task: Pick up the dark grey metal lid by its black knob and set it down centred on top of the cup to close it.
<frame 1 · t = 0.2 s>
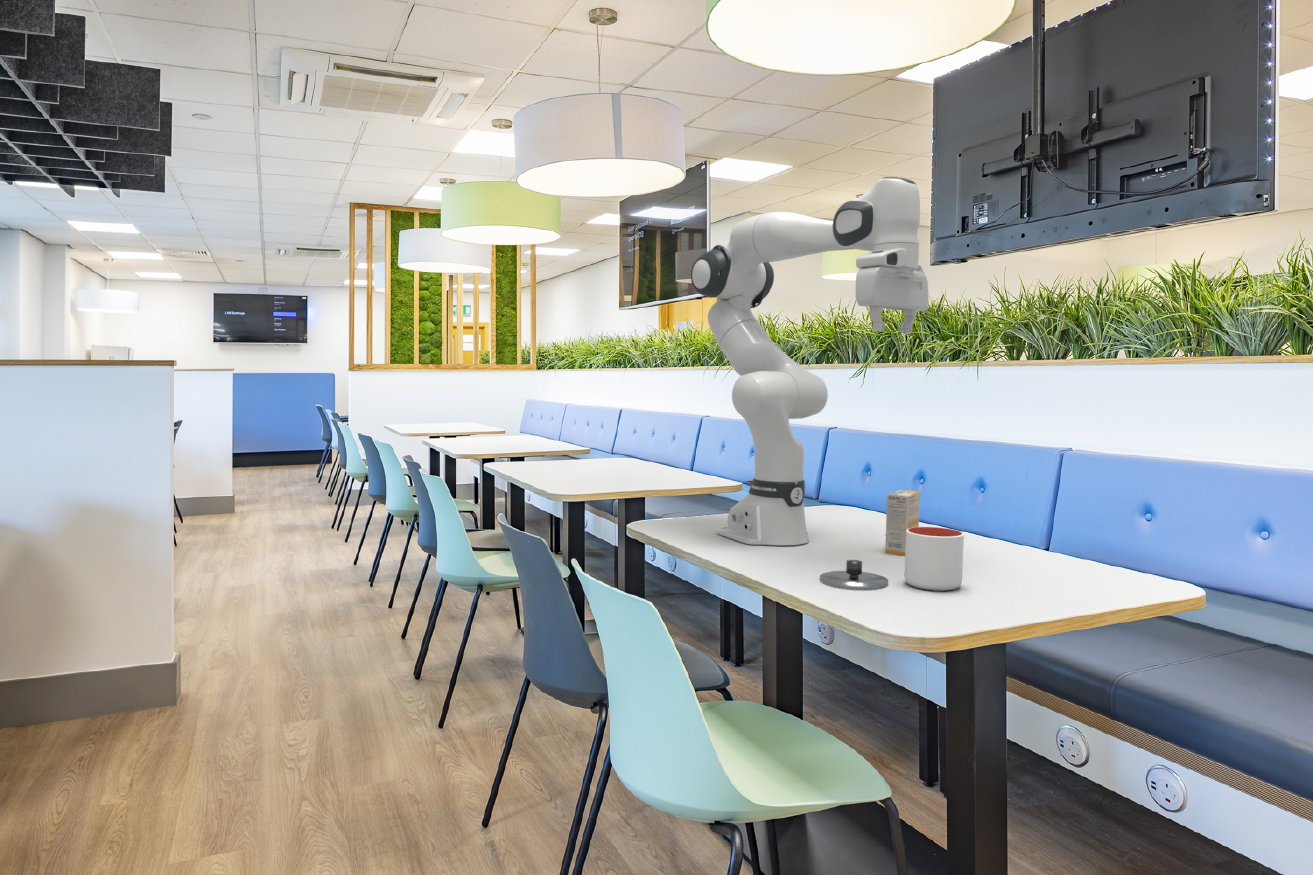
hand: (892, 332, 166), 47 cm above the table, fingers open, 8 cm apart
cup: (932, 586, 154), on the table
supplement box: (901, 552, 183), on the table
lid: (853, 583, 156), on the table
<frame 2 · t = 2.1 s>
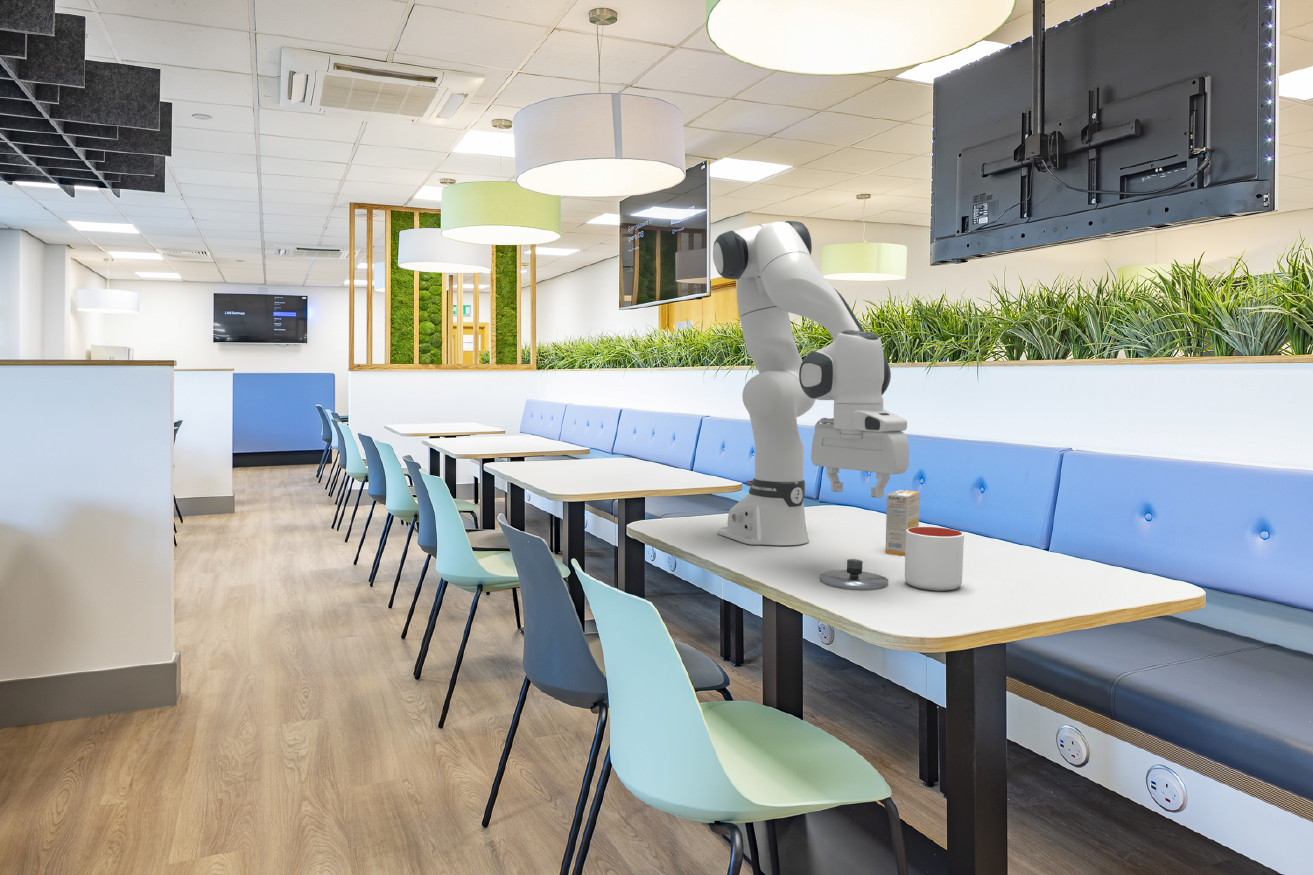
hand: (856, 494, 154), 16 cm above the table, fingers open, 8 cm apart
nothing on the table moved.
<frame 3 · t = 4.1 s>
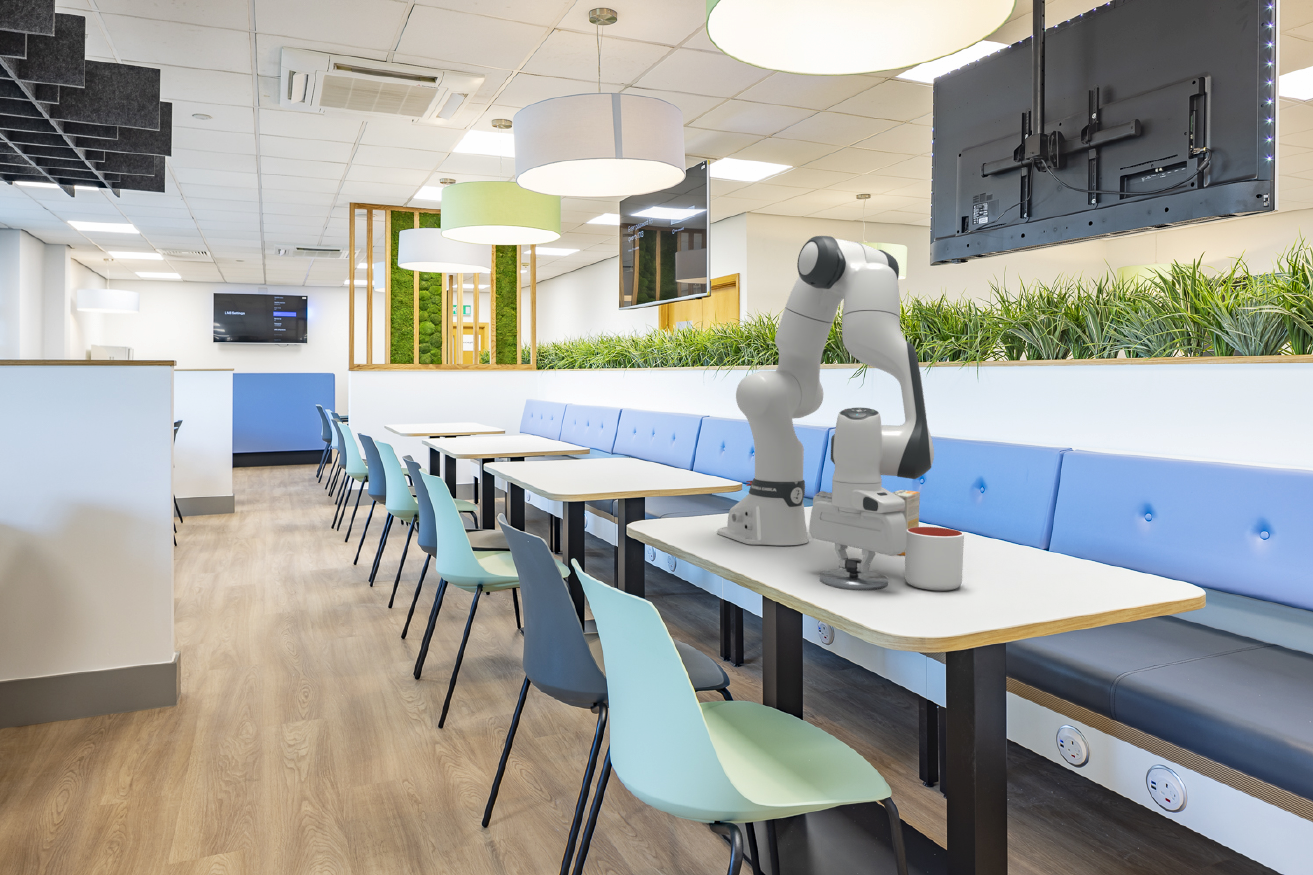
hand: (854, 570, 155), 2 cm above the table, fingers closed on lid, 3 cm apart
lid: (853, 581, 156), on the table, touching gripper
everything else where it was.
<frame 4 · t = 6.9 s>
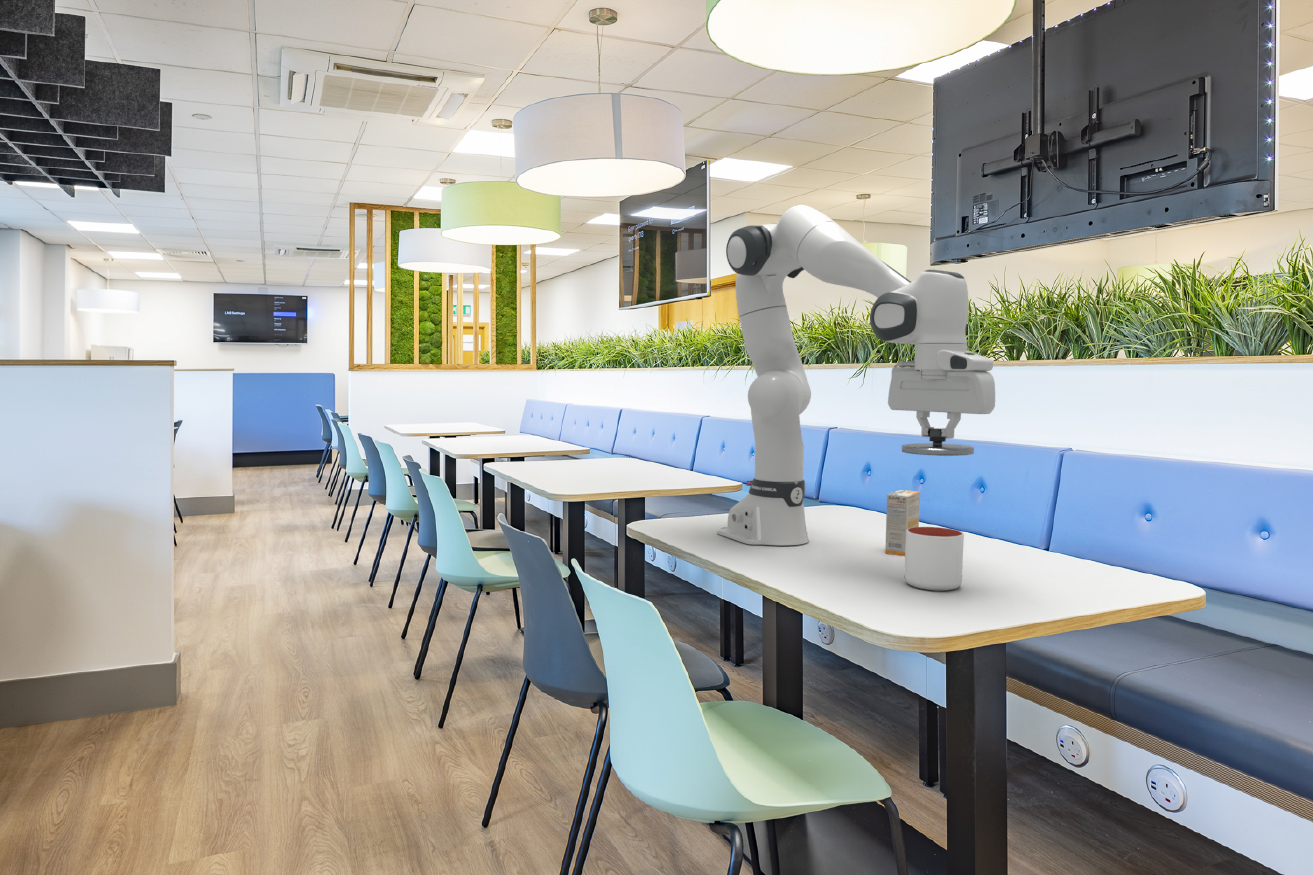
hand: (937, 437, 152), 27 cm above the table, fingers closed on lid, 3 cm apart
lid: (937, 452, 152), point 25 cm above the table, touching gripper
everything else where it was.
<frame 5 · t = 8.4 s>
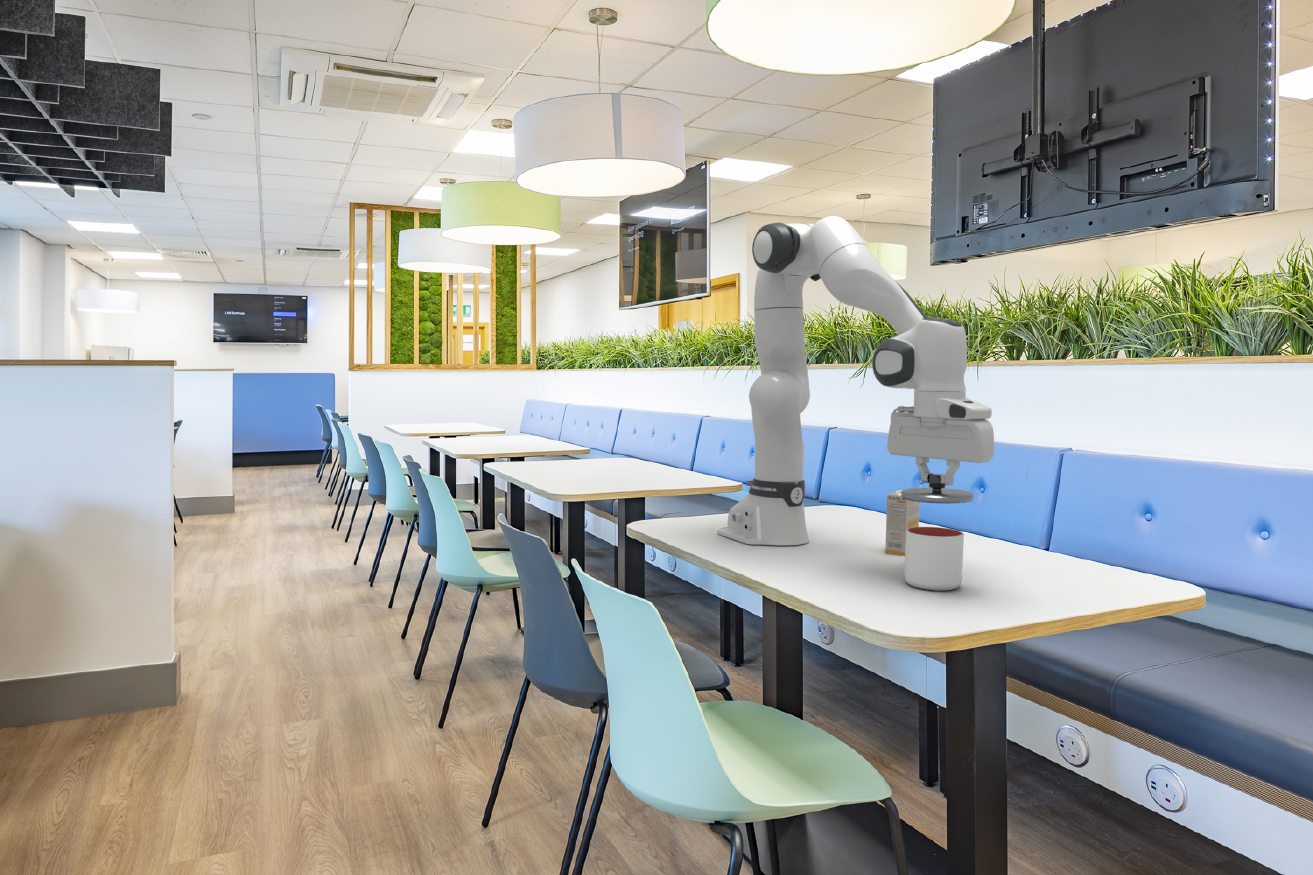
hand: (936, 483, 152), 19 cm above the table, fingers closed on lid, 3 cm apart
lid: (936, 498, 152), point 16 cm above the table, touching gripper
everything else where it was.
when the fingers open (14 cm above the table, at t = 9.6 s): lid drops 1 cm, resting on cup.
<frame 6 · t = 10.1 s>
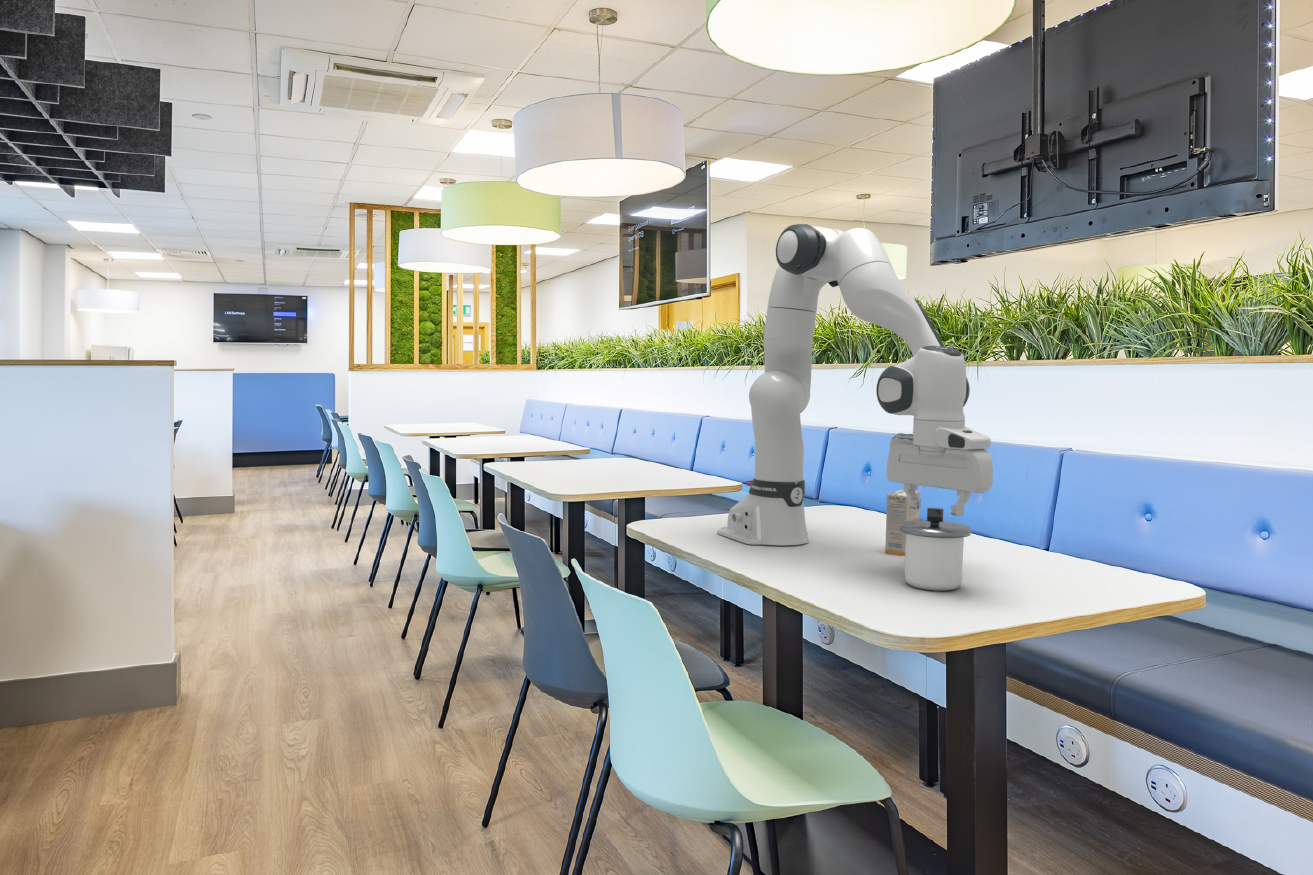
hand: (935, 511, 153), 14 cm above the table, fingers open, 8 cm apart
cup: (932, 586, 154), on the table, touching lid
lid: (934, 531, 153), point 10 cm above the table, touching cup
everything else where it was.
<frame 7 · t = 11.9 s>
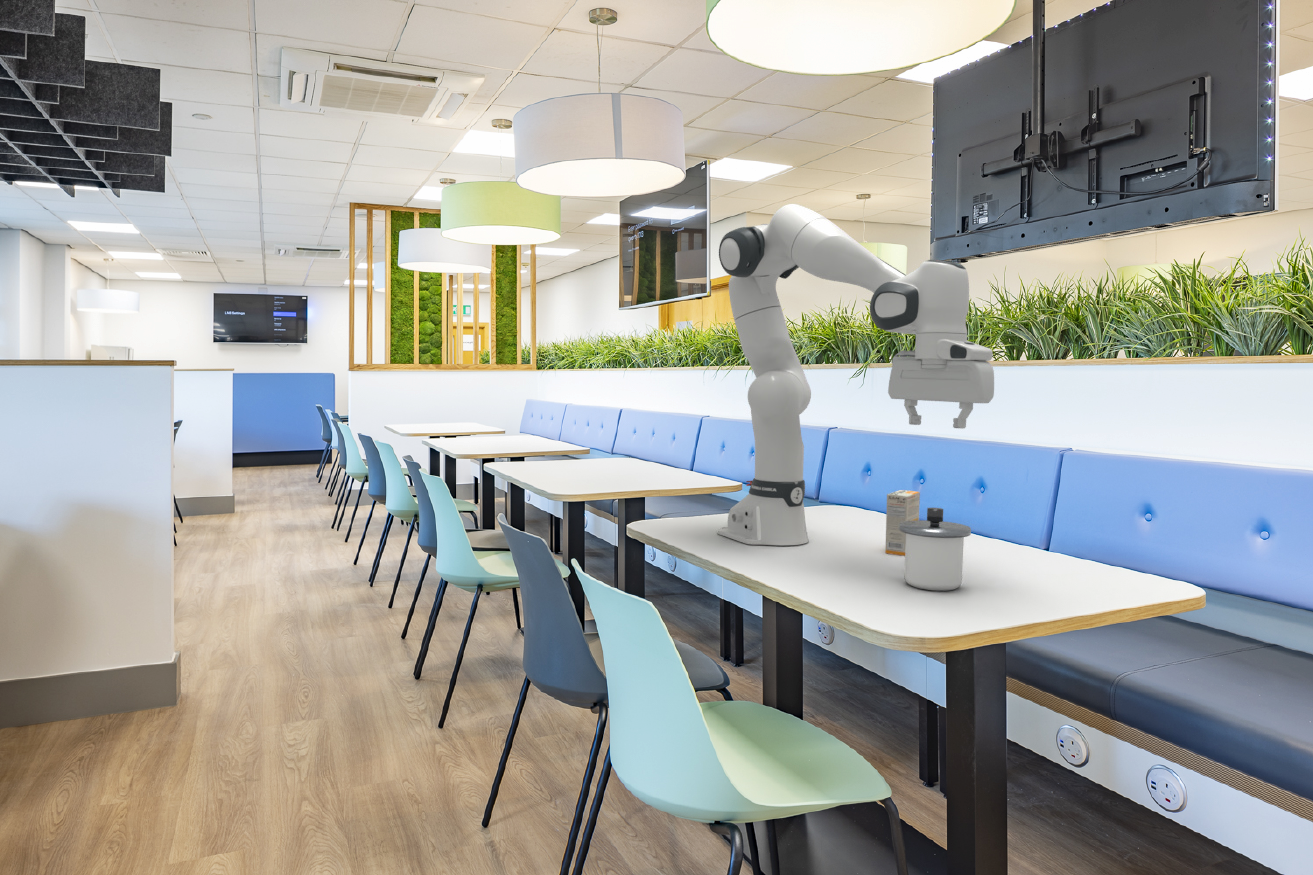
hand: (936, 426, 153), 29 cm above the table, fingers open, 8 cm apart
nothing on the table moved.
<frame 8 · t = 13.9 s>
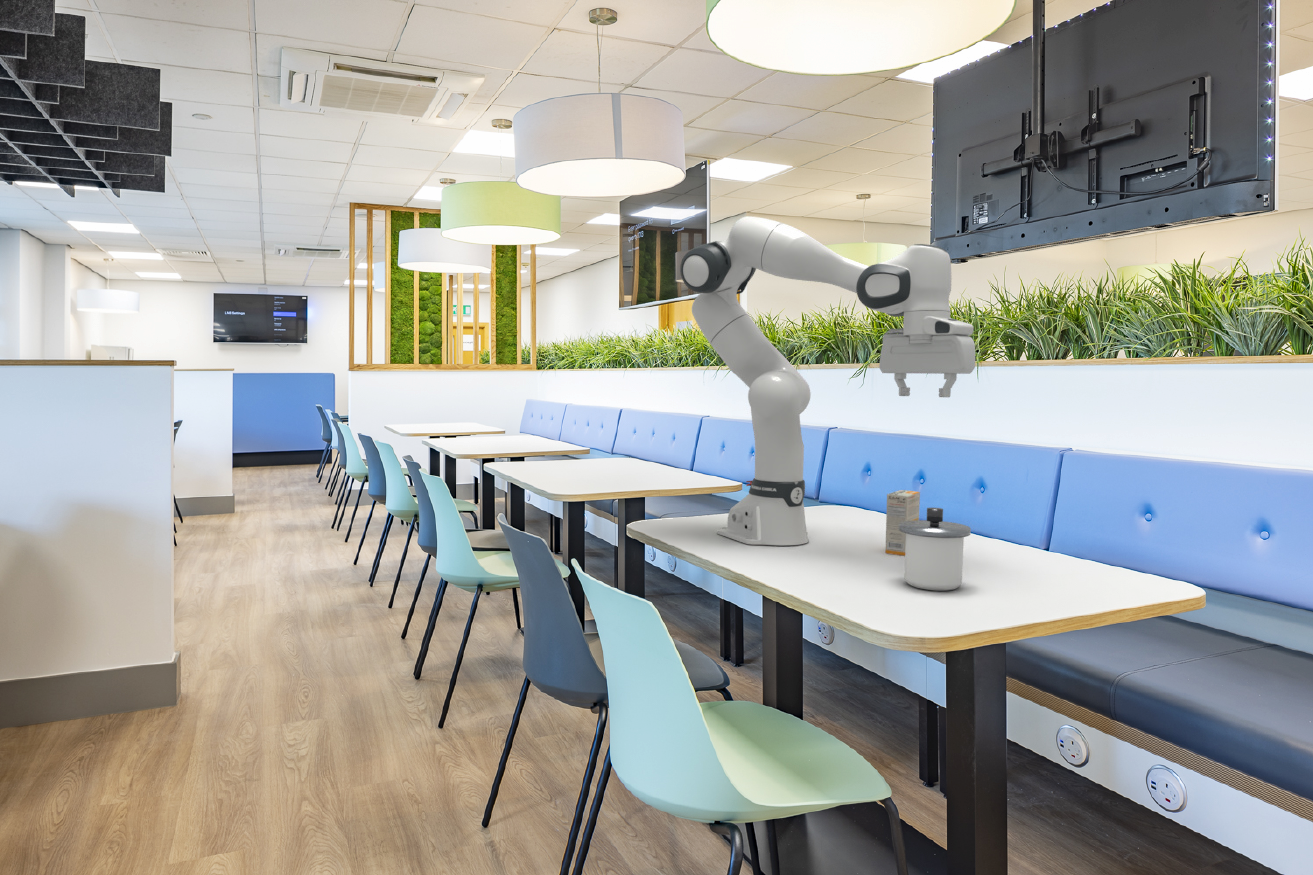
hand: (923, 396, 168), 34 cm above the table, fingers open, 8 cm apart
nothing on the table moved.
at the end: lid 0.3 cm from the cup (horizontally); lid point 9.9 cm above the table; lid tilted 0° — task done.
